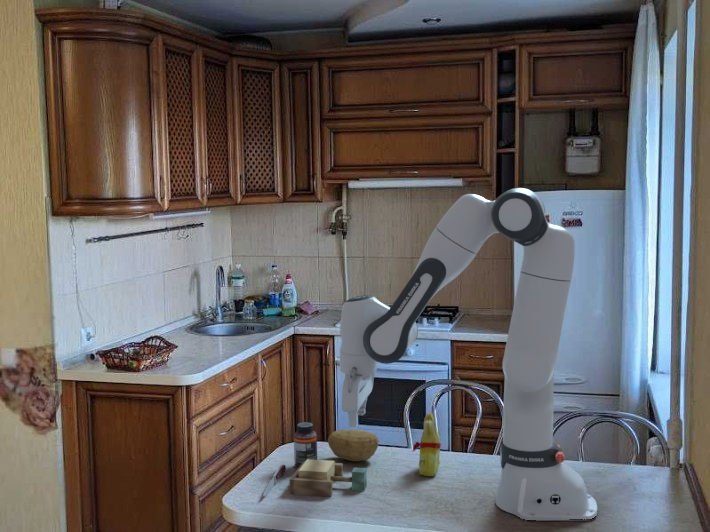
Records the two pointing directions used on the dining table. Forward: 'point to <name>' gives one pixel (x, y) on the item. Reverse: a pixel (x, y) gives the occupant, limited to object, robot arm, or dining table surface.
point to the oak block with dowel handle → (332, 473)
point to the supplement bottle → (304, 443)
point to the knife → (275, 478)
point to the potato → (353, 444)
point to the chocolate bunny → (429, 447)
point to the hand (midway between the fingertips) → (357, 420)
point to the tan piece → (313, 483)
